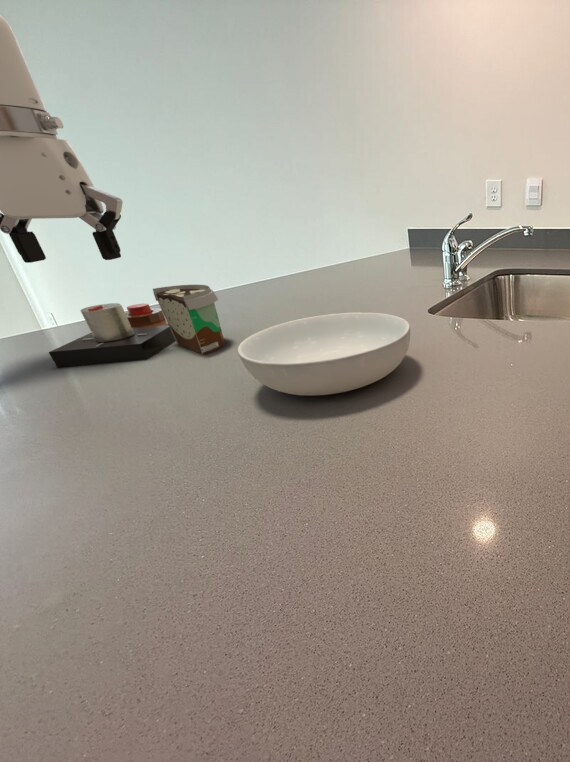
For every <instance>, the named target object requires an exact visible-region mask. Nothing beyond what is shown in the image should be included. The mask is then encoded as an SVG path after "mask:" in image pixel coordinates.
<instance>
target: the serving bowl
mask: <svg viewBox="0 0 570 762" xmlns="http://www.w3.org/2000/svg"><path fill="white" fill-rule="evenodd" d="M410 341H411V325H410V323H409V321H407V320H406V319H404V318H402V317H400V316H397V315H393V314H388V313H381V312H380V313H378V312H339V313H329V314H322V315H316V316H315V315H314V316H309V317H303V318H298V319H295V320H290V321H285V322H282V323H278V324H276V325H275V324H274V325H272V326H270V327H268V328H264V329H262V330H260V331H257V332H255V333H253V334H251V335H249V336H248V337H247V338H245V339H243V340H242V342H240V344H239V345H238V347H237V355H238V357H239V359H240V361H241V362H242V364H243V365H244V367H245V369H246V370H247V372H248V373H249V374H250V375H251V376H252V377H253V378H254V379H255V380H256V381H258V382H259V383H260V384H262V385H264V386H265V387H267V388H269V389H272V390H273V391H274V390H275V391H276V392H280V393H285V394H288V395H293V396H294V395H295V396H328V395H335V394H340V393H341V394H342V393H346V392H350V391H354V390H357V389H360V388H363V387H366V386H368V385H371V384H373V383H376V382H378V381H379V380H382V379H383V378H385V377H386V376H388V375H389V374H391V373H392V372H393V371H395V370H396V369H397V367H399V365H400V364H401V363H402V362H403V360H404V359H405V357H406V355H407V353H408V350H409V347H410Z"/></svg>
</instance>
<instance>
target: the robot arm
mask: <svg viewBox="0 0 570 762" xmlns="http://www.w3.org/2000/svg"><path fill="white" fill-rule="evenodd" d="M20 46H21V45H20V43H19V41H18V39H17V37H16V34H15V33H14V30H13V29H12V27H11V25H10V23H9V22H8V21H7V19H6V18H4V17H3V16H2V15H1V14H0V231H1V232H2V233H3V234H7V235H9V237H10V239H11V241H12V243H13V245H14V248H15V249H16V251H17V253H18V254H19V255H20V257H21V259H22V261H23V262H24V263H26V264H32V263H37V262H42V261H45V260H47V256H46V255H45V252H44V249H42V246H41V244H40V242H39V240H38V238H37V236H36V234H35V233H34V232H33V231H29V230H28V228H29V226H30V224H31V223H32V220H34V219H36V220H37V219H38V220H39V219H41V220H42V219H77V218H79V219H80V220H82V221H83V222H84V223H86V224H87V225H88V226H90V227H92V228H93V229H94V230H95V231H92V236H93V239H94V241H95V244H96V246H97V248H98V252H99V253H100V255H101V258H102V259H103V260H105V261H112V260H115V259H120V258H121V257H122V255H121V247H120V245H119V243H118V240H117V237H116V235H115V232H114V231H115V230H116V228H117V224H118V222H119V221H120V220H121V218H122V215H121V212H122V208H123V199H122V198H120V197H119V196H116V195H113V194H111V193H109V192H106V191H105V190H104V191H103V190H101V189H98V188H96V187H95V185H94V184H93V182H92V179H91V177H90V176H89V174H88V172H87V170H86V169H85V167H84V165H83V163H82V162H81V160H80V158H79V156H78V155H77V154H76V151H75V150H74V149H73V147H72V146H71V144H70V142H68V140H67V139H61V138H59V136H58V131H57V130H58V129H59V130H62V129H64V123H63V121H62V120H61V119H60V118H59V117H57V116H51V114H50V113H49V112H48V110H47V107H46V106H45V103H44V101H43V98H42V96H41V94H40V91H39V89H38V86H37V84H36V81H35V79H34V77H33V75H32V72H31V70H30V68H29V65H28V63H27V61H26V58H25V56H24V52H23V51H22V49H21V47H20ZM103 204H104V205H105V212H104V206H103Z"/></svg>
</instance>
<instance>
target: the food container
mask: <svg viewBox="0 0 570 762" xmlns="http://www.w3.org/2000/svg"><path fill="white" fill-rule="evenodd" d="M152 291H153V292H152V293H153V295H154V299H155V301H156V302H157V304H158V305H159V308H160V309H161V310H162V312H163V315H164V316H165V318H166V320H167V323H168V325H169V327H170V329H171V332H172V334H173V336H174V338H175V340H176V341H175V343H176V344H177V345H176V346H180V347H182V348H185V349H187V350H190V351H193V352H196V353H198V354H200V355H202V356H206V355H208V354H211V353H214V352H216V351H218V350H220V349H221V348H223V347H225V345H226V342H225V339H224V335H223V331H222V327H221V326H222V325H221V323H220V319H219V316H218V312H217V308H216V305H215V303H216V302H217V301H218V300H219V298H218V296H217V295H216V293H215V291H214V290H213V289H211V287H210V286H209V285H207V284H178V285H170V286H169V285H168V286H161V287H156V288H155V287H154V288H152Z"/></svg>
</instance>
